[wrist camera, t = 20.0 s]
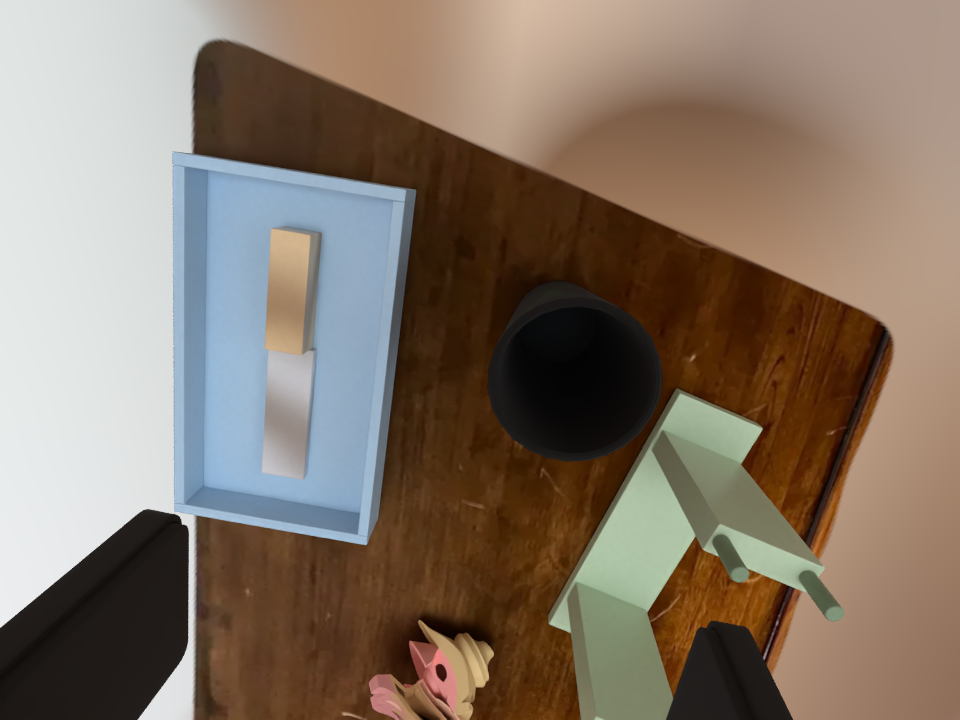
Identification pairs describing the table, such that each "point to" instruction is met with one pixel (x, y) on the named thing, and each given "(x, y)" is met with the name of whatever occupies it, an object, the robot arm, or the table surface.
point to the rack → (672, 553)
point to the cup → (573, 374)
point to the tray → (243, 358)
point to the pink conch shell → (436, 679)
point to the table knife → (290, 350)
